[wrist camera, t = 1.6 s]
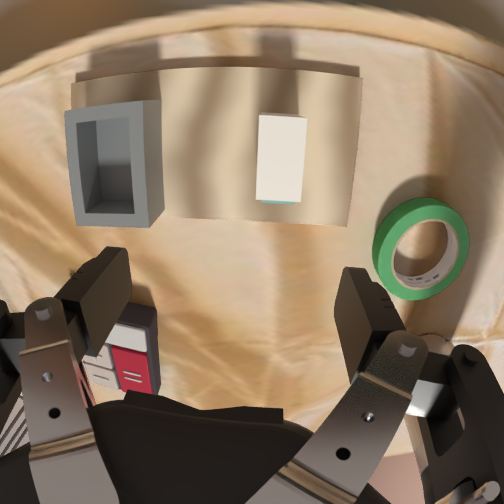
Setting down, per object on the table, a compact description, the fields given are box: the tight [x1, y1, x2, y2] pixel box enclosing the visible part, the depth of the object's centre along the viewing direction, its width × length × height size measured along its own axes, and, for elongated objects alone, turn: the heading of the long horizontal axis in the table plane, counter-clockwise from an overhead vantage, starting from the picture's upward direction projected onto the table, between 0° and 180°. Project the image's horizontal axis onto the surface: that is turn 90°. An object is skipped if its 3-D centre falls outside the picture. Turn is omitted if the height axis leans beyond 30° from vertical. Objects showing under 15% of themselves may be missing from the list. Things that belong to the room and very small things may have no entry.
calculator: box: [83, 302, 161, 395], centre depth 38 cm, size 11×4×15 cm
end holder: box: [65, 100, 165, 228], centre depth 25 cm, size 7×10×4 cm
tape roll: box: [372, 197, 469, 300], centre depth 30 cm, size 11×11×3 cm
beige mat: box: [71, 67, 363, 227], centre depth 27 cm, size 27×14×1 cm, turn 88°
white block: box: [256, 112, 307, 204], centre depth 24 cm, size 3×6×6 cm, turn 178°
